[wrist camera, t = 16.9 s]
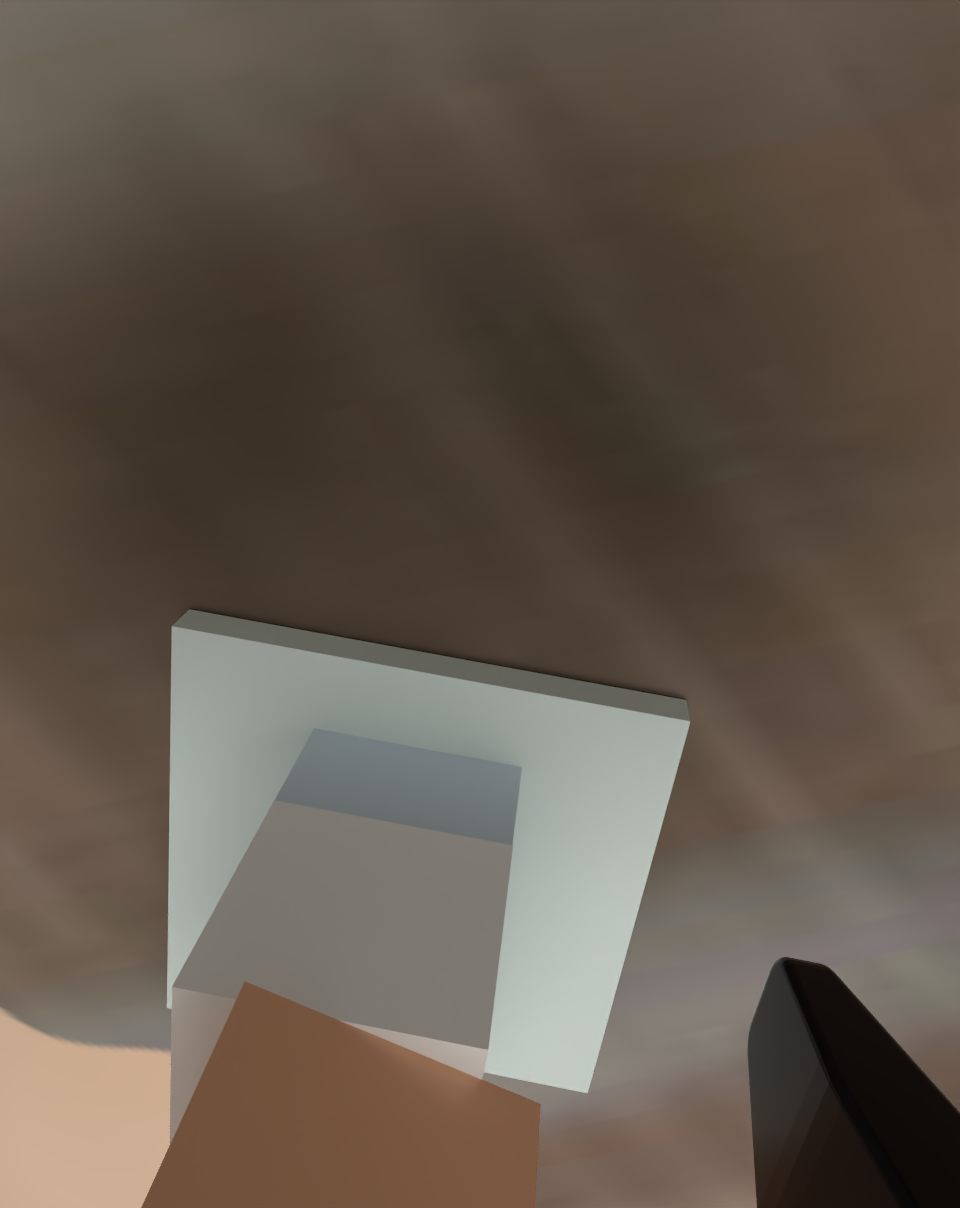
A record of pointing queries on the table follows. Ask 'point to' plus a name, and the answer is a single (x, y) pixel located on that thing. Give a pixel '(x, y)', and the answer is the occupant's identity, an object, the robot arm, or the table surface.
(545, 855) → the baseplate
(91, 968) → the table surface
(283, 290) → the table surface
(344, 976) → the ivory brick
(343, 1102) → the terracotta brick
